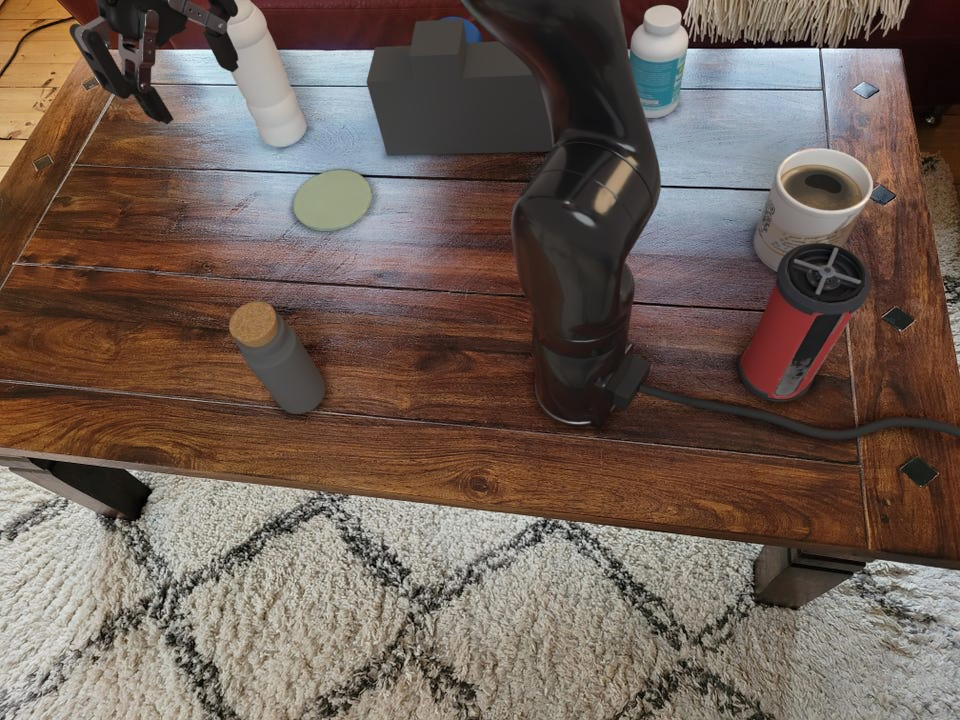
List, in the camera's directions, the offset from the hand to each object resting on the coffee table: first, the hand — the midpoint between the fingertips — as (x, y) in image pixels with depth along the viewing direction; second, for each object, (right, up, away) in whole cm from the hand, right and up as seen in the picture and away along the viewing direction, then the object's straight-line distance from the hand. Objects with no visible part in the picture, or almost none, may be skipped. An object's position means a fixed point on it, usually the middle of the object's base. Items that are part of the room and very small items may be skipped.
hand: (198, 93), depth 66 cm
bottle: (+6, -30, +14) cm, 33 cm away
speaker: (+59, -27, +9) cm, 66 cm away
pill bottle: (+52, +11, +33) cm, 63 cm away
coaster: (+7, -4, +30) cm, 31 cm away
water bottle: (-2, +9, +38) cm, 39 cm away
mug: (+66, -11, +18) cm, 69 cm away
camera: (+27, +11, +36) cm, 46 cm away
